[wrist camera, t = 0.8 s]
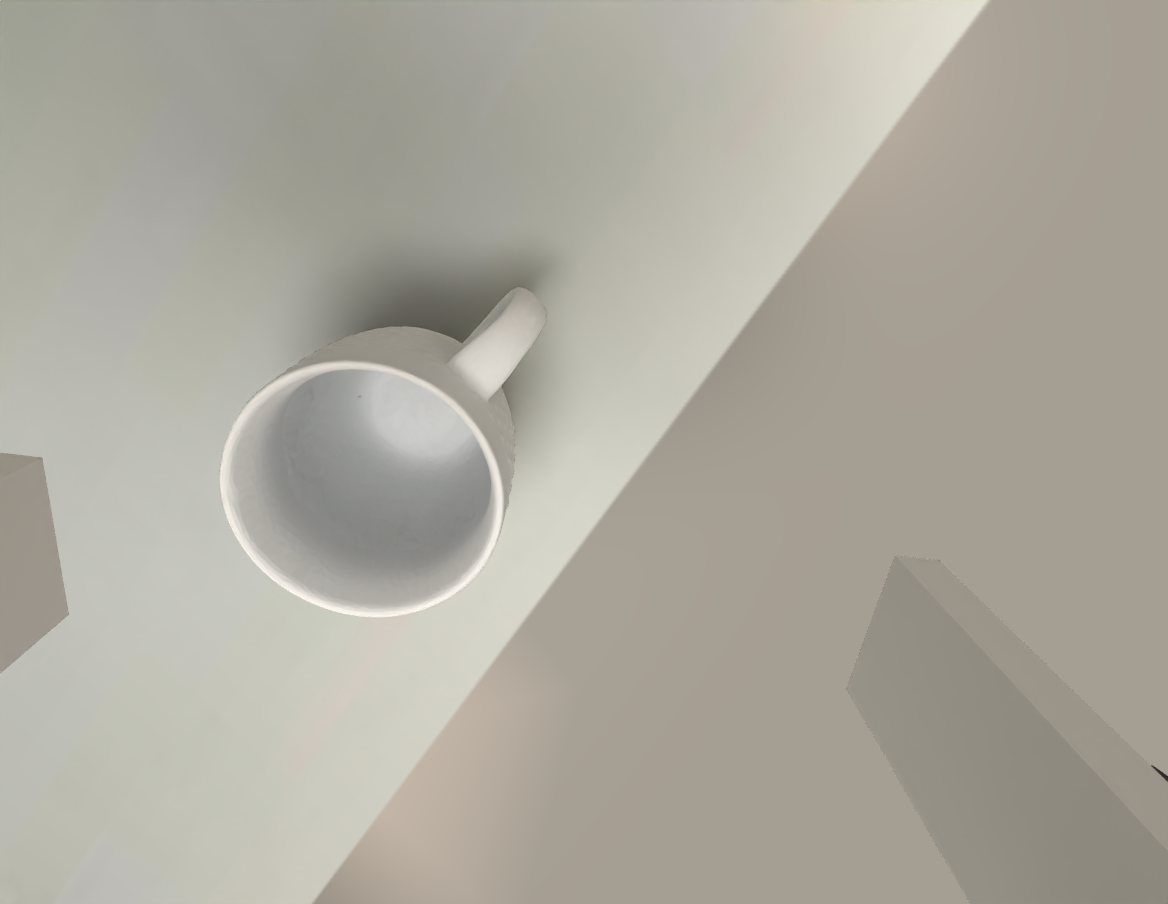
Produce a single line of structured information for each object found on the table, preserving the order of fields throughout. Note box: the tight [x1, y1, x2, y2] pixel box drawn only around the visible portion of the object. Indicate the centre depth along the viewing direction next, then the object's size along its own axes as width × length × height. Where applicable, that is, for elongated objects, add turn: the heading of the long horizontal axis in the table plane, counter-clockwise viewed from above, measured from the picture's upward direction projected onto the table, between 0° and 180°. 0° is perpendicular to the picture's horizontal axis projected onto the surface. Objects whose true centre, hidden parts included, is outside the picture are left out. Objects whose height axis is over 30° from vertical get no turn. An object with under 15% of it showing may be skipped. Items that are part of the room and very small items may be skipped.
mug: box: [220, 287, 546, 617], centre depth 31 cm, size 15×11×13 cm
